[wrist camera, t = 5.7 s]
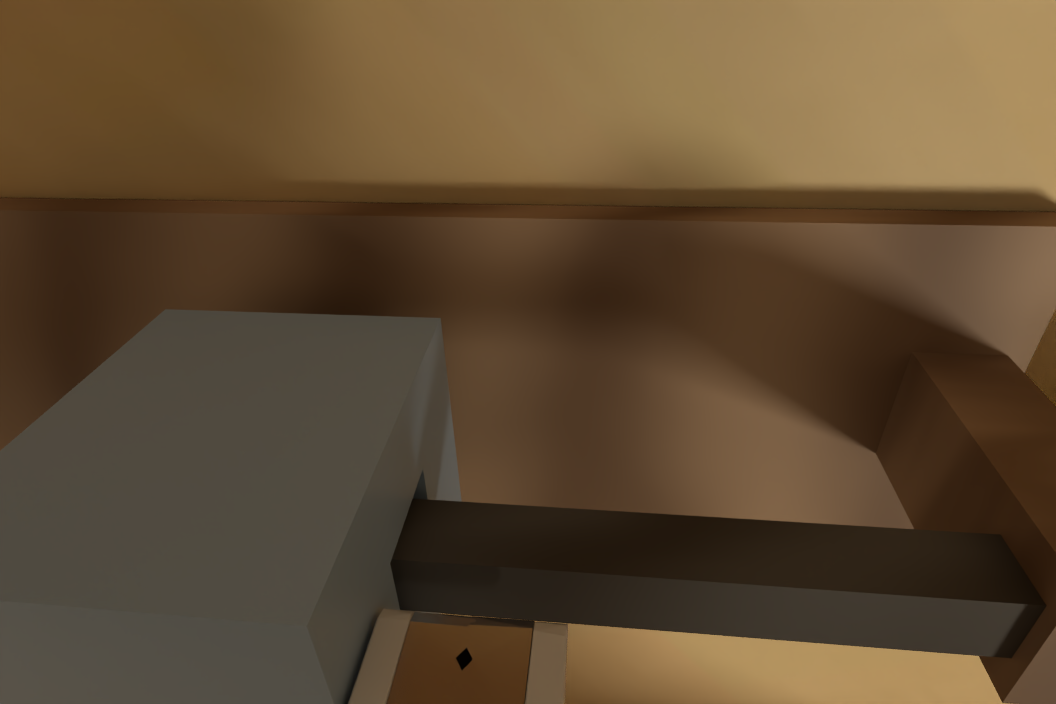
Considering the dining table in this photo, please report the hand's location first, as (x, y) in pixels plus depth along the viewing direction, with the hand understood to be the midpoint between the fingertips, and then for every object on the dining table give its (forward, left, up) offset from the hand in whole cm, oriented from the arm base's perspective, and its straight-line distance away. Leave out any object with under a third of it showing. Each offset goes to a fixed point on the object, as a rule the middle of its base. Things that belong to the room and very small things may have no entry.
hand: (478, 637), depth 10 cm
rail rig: (+4, 0, -8) cm, 9 cm away
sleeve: (+4, 0, -5) cm, 7 cm away
